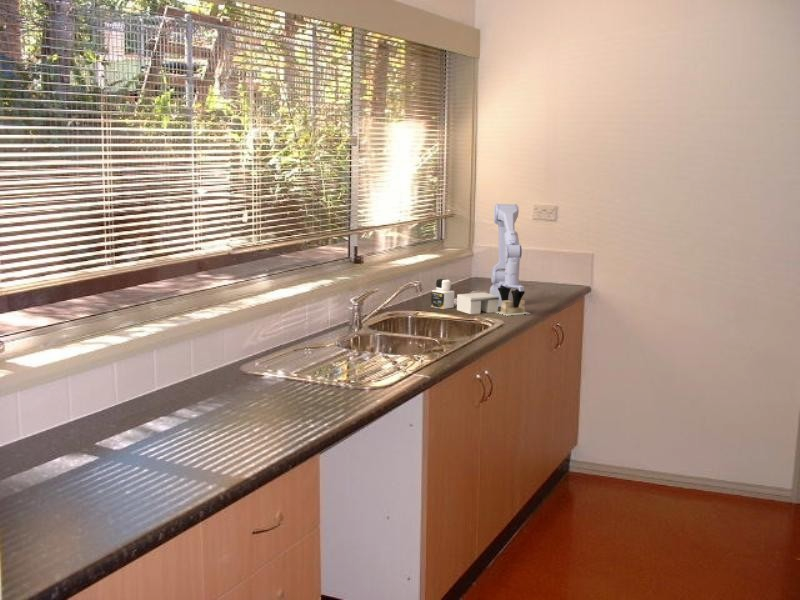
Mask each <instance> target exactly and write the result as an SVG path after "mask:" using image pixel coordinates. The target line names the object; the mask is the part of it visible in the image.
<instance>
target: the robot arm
mask: <svg viewBox="0 0 800 600" xmlns="http://www.w3.org/2000/svg"><path fill="white" fill-rule="evenodd" d="M519 210H520V209H519V205H518V204H517V203H515V204H513V203H511V204H508V203H504V204H503V203H496V204H494V208H493V221H494V224H496V225H497V228H498V262H497V263H496V264H495V265H493V266H492V268H491V275H490V280H491V284H492V285H491V286H490V288H489V294H492V295H496V296H499V300H498V308H501V301H505V300H513V307H514V308H517V307H519V304H520V301H521V300H522V298H523V296H524V295H525V293H526V292H525V286H523V285H521V284H520V283H519V282H520V280H519V279H520V265H521V264H520V261H521V258H522V254H523V247H522V244H521V242H520V240H519V234H518V232H517V231H516V229H515V223H516V221H517V220H518V217H519ZM511 296H512V297H511ZM511 298H512V299H511Z"/></svg>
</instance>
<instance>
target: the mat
mask: <svg viewBox="0 0 800 600" xmlns="http://www.w3.org/2000/svg"><path fill="white" fill-rule="evenodd" d="M494 313H495V314H498V313H499V315H502V314H503V315H502V316H505V315H506V316H507V317H512V316H511V315H514V316H524V314H526V315H531V312H527V311H525V312H524V313H511V314H504V313H501V310H500V311H499V310H498V312H494ZM506 316H505V317H506Z"/></svg>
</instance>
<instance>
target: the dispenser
mask: <svg viewBox="0 0 800 600" xmlns="http://www.w3.org/2000/svg"><path fill="white" fill-rule="evenodd" d="M456 299H457V300H456V311H458V312H459V311H460V312H462V313H466V314H468V315H476V314H481V312H485V313H495V312H499V307H498V300H499V296H496V295H492V294H490V293H489V292H474V293H472V292H471V293H459V294H457V297H456Z"/></svg>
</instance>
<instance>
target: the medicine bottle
mask: <svg viewBox="0 0 800 600" xmlns="http://www.w3.org/2000/svg"><path fill="white" fill-rule="evenodd" d="M435 282H436V284H435V285H436V286H435V289H433V290H431V293H430V294H431V296H430V301H431V302H430V307H431V308H435V309H441V310H446V309H451V308H455V290H451V283H452V281H451V280H450V279H448V278H438V279H436V281H435Z"/></svg>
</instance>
